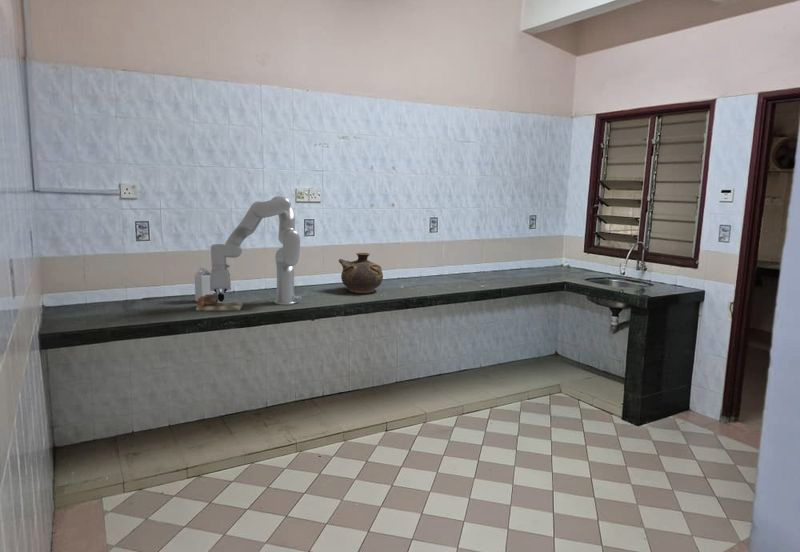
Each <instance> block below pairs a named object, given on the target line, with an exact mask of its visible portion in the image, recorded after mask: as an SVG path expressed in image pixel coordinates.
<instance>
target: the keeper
mask: <svg viewBox="0 0 800 552" xmlns="http://www.w3.org/2000/svg"><path fill="white" fill-rule="evenodd" d="M218 301H219V300H218V294H217V293H215V294H214V293H213V294H206V295H205V296H204V304H205V305H217V303H219V302H218Z"/></svg>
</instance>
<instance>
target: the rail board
mask: <svg viewBox="0 0 800 552" xmlns="http://www.w3.org/2000/svg"><path fill="white" fill-rule="evenodd" d="M242 307H243V302H217V305H205V304H204V296H201V297H200V298H199V299H198V302H197V306H196V311H240V310H241V309H242Z"/></svg>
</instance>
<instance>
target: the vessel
mask: <svg viewBox="0 0 800 552" xmlns="http://www.w3.org/2000/svg"><path fill="white" fill-rule="evenodd" d="M356 255H357V260H352V261H350V260H345V259H342V258H339V259H338V263H339V264H340V265H341V267H342V272H341V274H340V276H341V282H342V284H343V285H344V286H345V287H346V288H347V289H348V290H349V292H351V293H353V292H355V294H370V293H371V292H372V293H374V292H375V290H376V289H377V288H379V286H381V285H382V282H383V280H384V274H383V270H382V266H380V264H377V263H375V262H373V261H371V260H368V257H369V256H370V255H371V253H368V252H356Z"/></svg>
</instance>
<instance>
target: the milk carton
mask: <svg viewBox="0 0 800 552" xmlns="http://www.w3.org/2000/svg"><path fill="white" fill-rule="evenodd" d="M206 294H214V291H210V271H208V268H205V267H202V266H200V267H199V269H198V271H197V272H196V273H195V274H194V298H195V299H194V300H195V302H197V303H198V299H199V298H200V297H201V296H205V295H206Z"/></svg>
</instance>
